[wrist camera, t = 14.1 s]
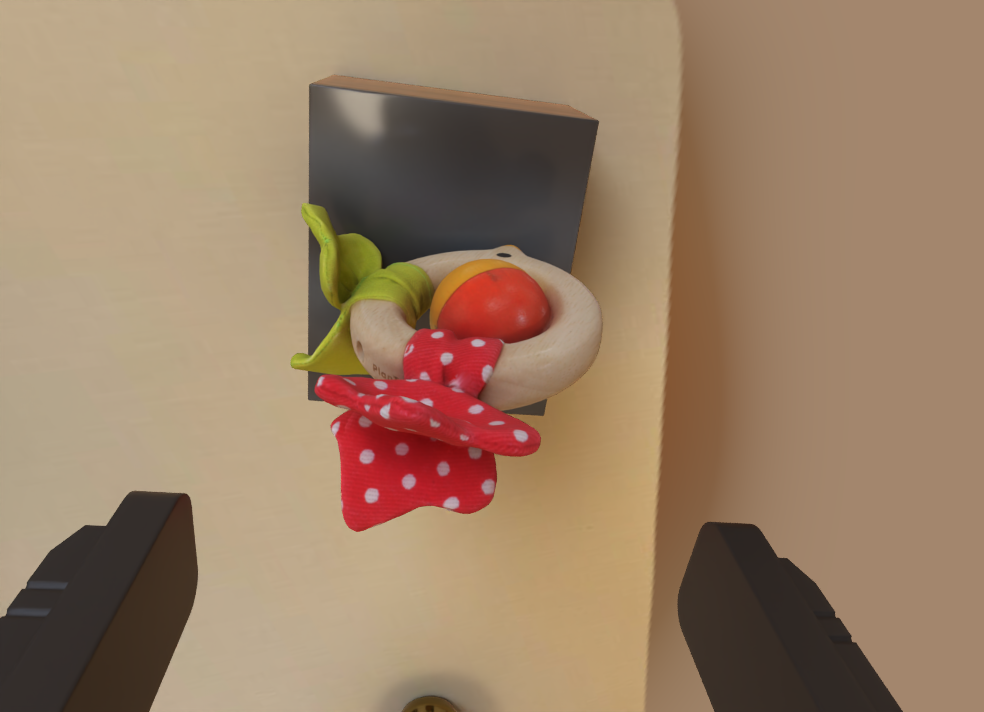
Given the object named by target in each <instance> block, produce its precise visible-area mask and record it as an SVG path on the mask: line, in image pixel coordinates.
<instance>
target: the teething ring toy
mask: <svg viewBox="0 0 984 712" xmlns="http://www.w3.org/2000/svg"><path fill="white" fill-rule="evenodd" d="M301 213H302V216H303V218H304V220H305V222H306V223H307V225H308V226H309V227H310V229H311V230H312V232H313V234H314V236H315V237H316V239H317V241H318V242H319V244H320V247H321V253H320V270H319V272H320V283H321V289H322V291H323V293H324V295H325V297H326V299H327V300H328V302H329V303H330V304H331V305H332V306H333V307H335V308H337V309H339V310H341V314H340V316H339V318H338V320H337V321H336V323H335V324H334V326H333V327H332V329H331V330H330V332H329V333H328V335H327V336H326V337H325V339H324V340H323V341H322V342H321V344H320V345H319V346H318V348H317V349H316V351H315V352H314V353H313V355H312V356H311V355H307V354H304V353H297V354H295V355H294V356H293V357H292V359H291V366H292V368H294V369H300V370H306V371H312V372H319V373H325V374H326V375H322V376H320V377H319V378H318V381H317V383H316V385H315V393H316V395H317V396H318V397H320V398H321V399H322V400H324V401H325V402H327V403H329V404H332V405H334V406H336V407H340V408H344V409H348V411H347V412H345V413H343V414H342V415H340V416H339V417H338V418H336V419H335V420H334V421H333V422H332V424H331V431H332V433H333V435H334V436H335V437H336V439H337V441H338V446H339V452H340V459H341V493H342V496H341V505H342V513H343V516H344V520H345V522H346V524H347V526H348V527H349V528H350V529H352V530H354V531H356V532H359V531H364V530H366V529H368V528H371V527H374V526H377V525H380V524H382V523H385V522H387V521H389V520H391V519H393V518H396V517H399V516H401V515H403V514H406V513H408V512H410V511H412V510H414V509H416V508H418V507H423V506H437V507H442V508H446V509H447V510H450V511H453V512H458V513H462V514H471V513H474V512H477V511H479V510H481V509H482V508H484V507H486V506H487V505H489V503H490V502H491V501H492V499H493V497H494V492H495V487H496V482H497V471H496V462H495V457H494V453H495V454H498V455H503V456H518V457H521V456H527V455H530V454H532V453H534V452H536V451H537V450H538V448H539V446H540V441H541V437H540V435H539V433H538V431H536V430H535V429H534V428H532V427H531V426H529V425H528V424H526V423H524V422H522V421H520V420H519V419H516V418H514V417H512V416H509V415H507V414H505V413H504V412H502V411H503V410H509V409H514V408H519V407H523V406H527V405H530V404H533V403H536V402H539V401H542V400H544V399H547V398H549V397H551V396H553V395H556V394H558V393H559V392H561V391H563V390H564V389H566V388H567V387H569V386H571V385H572V384H573V383H575V382H576V381H577V380H578V379H579V378H581V377H582V376H583V375H584V374H585V373H586V372H587V370H588V369H589V368H590V367H591V365H592V363H593V362H594V360H595V359H596V356H597V354H598V351H599V347H600V343H601V337H602V327H603V321H602V312H601V308H600V306H599V303H598V301H597V300H596V298H595V297H594V295H593V294H592V293H591V291H590V290H589V289H588V288H587V287H586V286H585V285H584V284H583V283H582V282H580V281H579V280H578V279H577V278H575V277H574V276H572V275H570V274H569V273H567V272H565V271H563V270H562V269H560V268H558V267H555V266H553V265H551V264H549V263H546V262H543V261H540V260H537V259H534V258H531V257H528V256H526V255H525V254H524V253H523V252H522V251H521V250H520V249H519V248H518V247H516V246H514V245H505V246H501V247H498V248H495V249H489V250H467V251H454V252H446V253H440V254H435V255H430V256H426V257H422V258H417V259H414V260H411V261H408V262H399V263H393V264H391V265H390V266H388V267H387V268H386V269H382V256H381V253H380V251H379V249H378V248H377V247H376V246H375V245H374V243H372V242H371V241H370V240H368V239H367V238H365V237H363V236H362V235H360V234H355V233H350V234H343V235H336V232H335V230H334V228H333V227H332V224H331V221H330V219H329V216H328V213H327V211H326V210H325V208H323V207H321V206H317V205H312V204H308V203H303V204H302V210H301ZM429 308H430V328H431V329H420V330H418V331H417V330H415V327H416V322H417V320H418V319H419V318H420V317H421V316H422V315H423V314H424V313H425V312H426V311H427V310H428V309H429ZM351 374H369V375H371V376H372V377H373V378H374V379H372V378H365V377H342V376H339V375H351Z"/></svg>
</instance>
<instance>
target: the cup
mask: <svg viewBox="0 0 984 712" xmlns="http://www.w3.org/2000/svg"><path fill="white" fill-rule="evenodd" d="M402 712H456V710H455V708H454V707H453V705H452V704H451V703H450V702H448V701H447V700H445V699H443V698H439V697H434V696H427V697H421V698H417V699H415V700H413V701H411V702H410V703H408V704H407V705H406V706H405V707H404V709H403V710H402Z"/></svg>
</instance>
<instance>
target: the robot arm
mask: <svg viewBox="0 0 984 712" xmlns="http://www.w3.org/2000/svg"><path fill="white" fill-rule="evenodd" d="M197 581H198V566H197V556H196V546H195V535H194V525H193V515H192V505H191V500H190V497H189V496H188V495H187V494H185V493H166V492H146V491H132V492H130V493H129V494H128V495H127V496H126V497H125V498H124V500H123V501H122V503H121V504H120V506H119V507H118V509H117V510H116V512H115V513H114V515H113V516H112V518H111V519H110V521H109V522H108V524H107V525H106V526H91V525H85V526H84V527H82V528H81V529H80V530H78V531H77V532H75V533H74V534H73V535H71V536H70V537H69V538H67V539H66V540H65V541H63V542H62V543H60V544H59V545H58V546H56V547H55V548H54V549H52V550H51V551H50V552H49V553H48V555H47V556H46V557H45V559H44V560H43V561H42V563H41V564H40V565H39V567H38V568H37V569H36V571H35V572H34V574H33V575H32V576H31V578H30V579H29V580H28V582H27V586H26V588H25V589H22V590H21V591H20V593H19V594H18V595H17V597H16V598H15V599H14V601H13V602H12V603H11V605H10V606H9V607H8V609H7V614H6V616H2V617H1V618H0V712H149V711H150V708H151V706H152V703H153V701H154V699H155V696H156V694H157V691H158V689H159V687H160V684H161V682H162V680H163V677H164V675H165V672H166V670H167V668H168V665H169V663H170V661H171V658H172V656H173V653H174V651H175V649H176V646H177V644H178V642H179V639H180V637H181V634H182V632H183V630H184V627H185V625H186V623H187V620H188V618H189V615H190V613H191V610H192V607H193V603H194V599H195V595H196V589H197ZM678 616H679V622H680V626H681V629H682V632H683V635H684V637H685V640H686V642H687V645H688V647H689V649H690V652H691V654H692V657H693V659H694V662H695V664H696V667H697V669H698V671H699V674H700V677H701V679H702V682H703V684H704V686H705V689H706V691H707V694H708V696H709V699H710V701H711V704H712V706H713V709H714V711H715V712H903V711H902V710H901V708H900V707H899V705H898V704H897V702H896V701H895V699H894V698H893V697H892V695H891V694H890V692H889V691H888V689H887V688H886V686H885V685H884V684H883V682H882V680H881V679H880V678H879V676H878V674H877V673H876V672H875V670H874V669H873V667H872V666H871V664H870V663H869V661H868V660H867V658H866V657H865V655H864V654H863V652H862V651H861V649H860V648H859V646H858V645H857V643H854V642H852V640H851V635H850V633H849V632H848V630H847V629H846V627H845V626H844V624H843V623H842V621H841V620H840V619H839V618H836V617H835V611H834V610H833V608H832V607H831V605H830V604H829V602H828V601H827V600H826V598H825V596H824V595H823V593H822V592H821V590H820V589H819V587H818V586H817V585H816V583H815V582H814V581H812V580H811V579H810V578H809V577H808V576H807V575H806V574H804V573H803V572H802V571H801V570H800V569H799V568H798V567H796V566H795V565H794V564H793V563H792V562H791V561H790V560H788V559H787V558H778V557H777V555H776V554H775V552H774V550H773V549H772V547H771V546H770V544H769V543H768V541H767V540H766V538H765V536H764V535H763V533H762V532H761V531H760V529H759V528H758V527H757V526H755V525H753V524H741V523H721V522H707V523H705V524H704V525H703V526H702V528H701V530H700V532H699V535H698V537H697V540H696V543H695V546H694V549H693V552H692V555H691V557H690V560H689V563H688V566H687V569H686V572H685V575H684V578H683V581H682V583H681V586H680V590H679V594H678Z"/></svg>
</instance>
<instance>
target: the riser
mask: <svg viewBox="0 0 984 712" xmlns="http://www.w3.org/2000/svg"><path fill="white" fill-rule="evenodd" d="M598 124H599V121H598V120H596V119H594V118H592V117H590V116H588V115H586V114H584V113H582V112H580V111H578V110H576V109H574V108H572V107H571V106H569V105H561V104H554V103H546V102H538V101H531V100H523V99H515V98H508V97H500V96H492V95H485V94H477V93H469V92H461V91H454V90H446V89H438V88H431V87H423V86H415V85H408V84H400V83H392V82H385V81H377V80H369V79H361V78H354V77H346V76H338V75H332V76H330V77H327V78H324V79H322V80H319V81H317V82H314V83H312V84H310V85H309V204H312V205H317V206H321V207H323V208H325V210H326V211H327V213H328V216H329V219H330V221H331V224H332V227H333V228H334V230H335V232H336V235H343V234H350V233H355V234H360V235H362V236H363V237H365V238H367V239H368V240H370V241H371V242H372V243H374V245H375V246H376V247H377V248H378V249H379V251H380V253H381V256H382V269H386V268H387V267H388V266H390V265H391V264H393V263H399V262H408V261H411V260H414V259H417V258H422V257H426V256H430V255H435V254H440V253H446V252H454V251H467V250H489V249H495V248H498V247H501V246H505V245H514V246H516V247H518V248H519V249H520V250H521V251H522V252H523V253H524V254H525V255H526V256H528V257H531V258H534V259H537V260H540V261H543V262H546V263H549V264H551V265H553V266H555V267H558V268H560V269H562V270H563V271H565V272H567V273H569V274H571V268H572V263H573V258H574V252H575V247H576V242H577V236H578V231H579V226H580V220H581V215H582V209H583V204H584V199H585V193H586V188H587V183H588V177H589V172H590V167H591V161H592V156H593V151H594V145H595V140H596V135H597V129H598ZM320 253H321V247H320V244H319V242H318V241H317V239H316V237H315V236H314V234H313V232H312V230H311V229H310V227H309V287H308V355H311V356H312V355H313V353H314V352H315V351H316V349H317V348H318V346H319V345H320V344H321V342H322V341H323V340H324V339H325V337H326V336H327V335H328V333H329V332H330V330H331V329H332V327H333V326H334V324H335V323H336V321H337V320H338V318H339V316H340V314H341V310H339V309H337V308H335V307H333V306H332V305H331V304H330V303H329V302H328V300H327V299H326V297H325V295H324V293H323V291H322V289H321V283H320V272H319V270H320ZM420 329H431V328H430V308H429V309H428V310H427V311H426V312H425V313H424V314H423V315H422V316H421V317H420V318H419V319H418V320H417V322H416V327H415V330H417V331H418V330H420ZM322 375H326V374H325V373H319V372H312V371H308V400H313V401H324V400H322V399H321V398H320V397H318V396H317V395H316V393H315V385H316V383H317V381H318V378H319V377H320V376H322ZM339 376H342V377H365V378H372V379H374V378H373V377H372V376H371V375H369V374H351V375H339ZM546 402H547V399H544V400H542V401H539V402H536V403H533V404H530V405H527V406H523V407H519V408H514V409H509V410H503V411H502V412H504V413H508V414H523V415H538V416H544V412H545V407H546Z"/></svg>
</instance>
